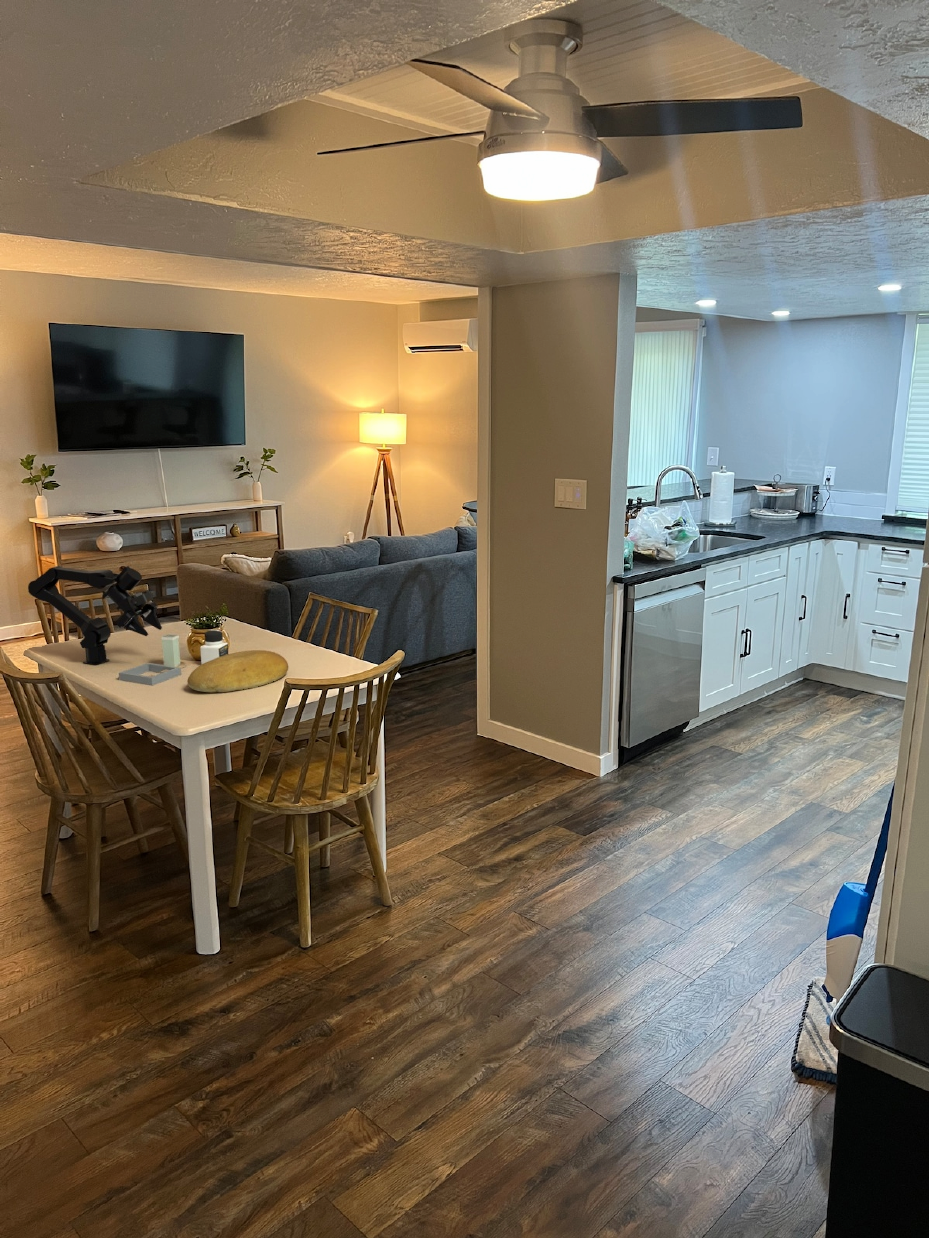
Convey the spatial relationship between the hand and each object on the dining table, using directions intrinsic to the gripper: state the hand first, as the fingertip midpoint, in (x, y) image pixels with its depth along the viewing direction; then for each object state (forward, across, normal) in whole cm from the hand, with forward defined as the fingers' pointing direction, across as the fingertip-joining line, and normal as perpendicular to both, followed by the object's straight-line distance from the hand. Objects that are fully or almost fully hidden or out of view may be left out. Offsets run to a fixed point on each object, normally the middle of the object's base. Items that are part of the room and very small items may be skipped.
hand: (154, 632), depth 317 cm
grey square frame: (+12, -13, +5) cm, 19 cm away
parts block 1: (+14, -18, +3) cm, 23 cm away
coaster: (+12, 0, +5) cm, 13 cm away
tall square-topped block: (+12, 0, +4) cm, 13 cm away
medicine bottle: (+22, +6, -5) cm, 24 cm away
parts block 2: (+16, -11, +2) cm, 19 cm away
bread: (+35, -13, -18) cm, 42 cm away
